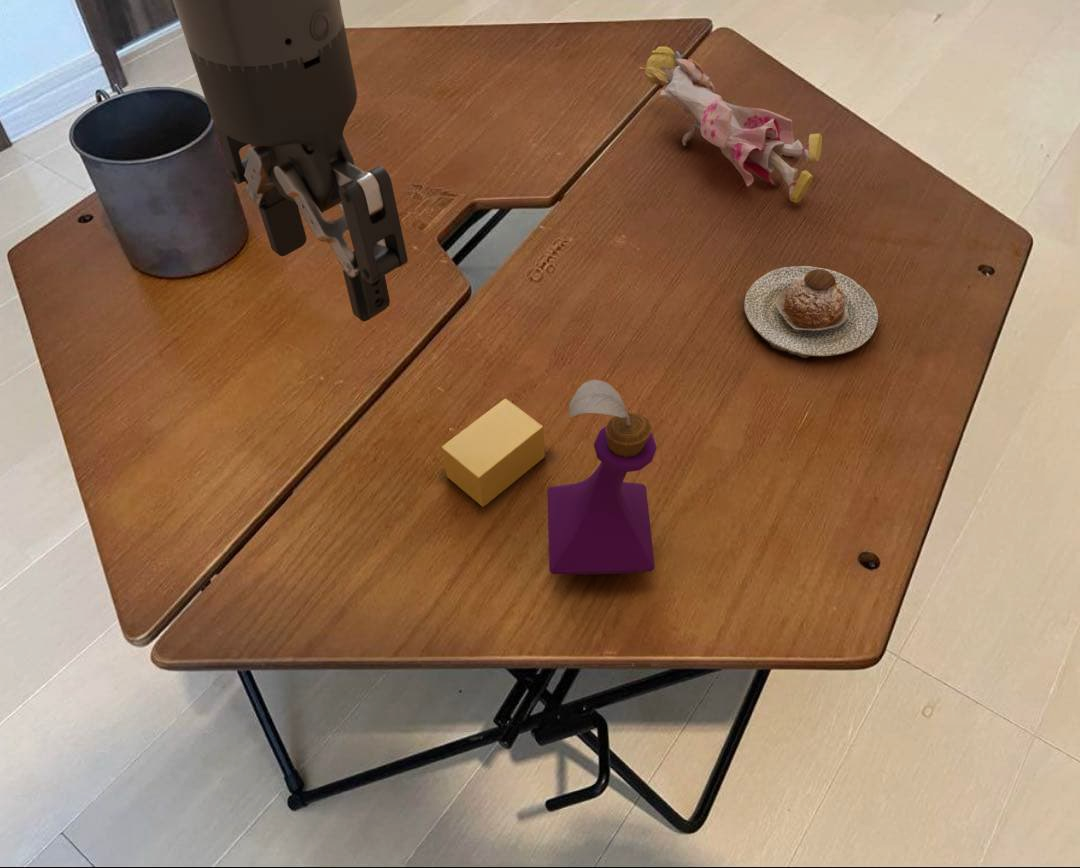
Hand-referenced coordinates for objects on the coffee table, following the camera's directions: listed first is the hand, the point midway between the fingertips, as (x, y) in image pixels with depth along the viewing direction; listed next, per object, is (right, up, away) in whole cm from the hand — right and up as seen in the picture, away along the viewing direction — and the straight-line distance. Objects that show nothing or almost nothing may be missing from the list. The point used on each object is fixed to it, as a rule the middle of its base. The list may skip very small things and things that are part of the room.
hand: (330, 279), depth 56 cm
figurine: (+32, +21, +44) cm, 58 cm away
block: (+9, -12, +18) cm, 24 cm away
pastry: (+38, +1, +28) cm, 47 cm away
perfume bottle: (+17, -19, +13) cm, 29 cm away
